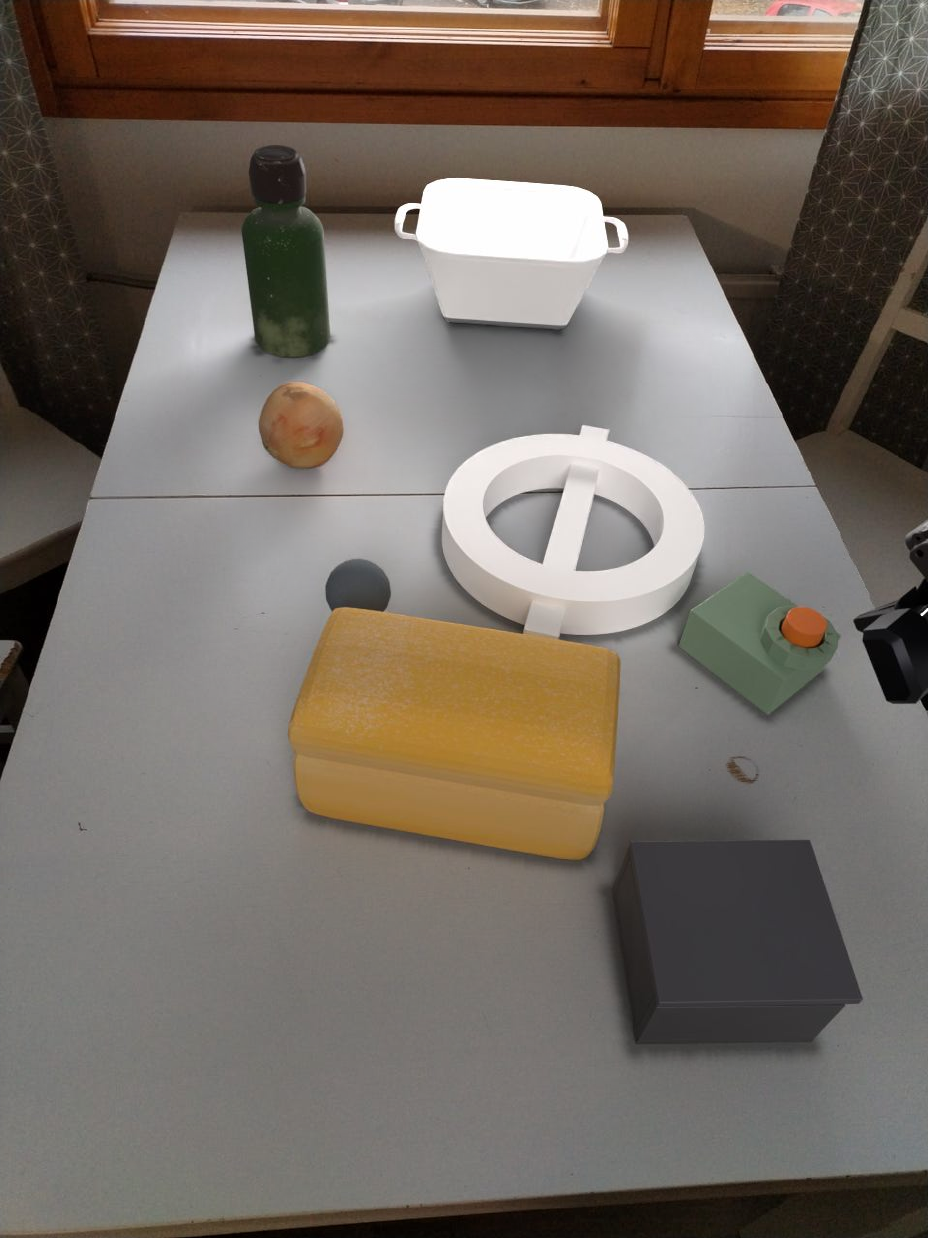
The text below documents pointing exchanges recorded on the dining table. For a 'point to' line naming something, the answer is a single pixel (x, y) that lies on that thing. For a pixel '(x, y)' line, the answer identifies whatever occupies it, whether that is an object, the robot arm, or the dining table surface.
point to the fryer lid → (739, 924)
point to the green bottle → (285, 258)
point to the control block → (754, 643)
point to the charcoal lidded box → (699, 1021)
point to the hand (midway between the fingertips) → (857, 623)
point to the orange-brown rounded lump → (300, 425)
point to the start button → (804, 627)
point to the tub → (510, 249)
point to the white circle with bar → (571, 534)
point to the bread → (457, 732)
